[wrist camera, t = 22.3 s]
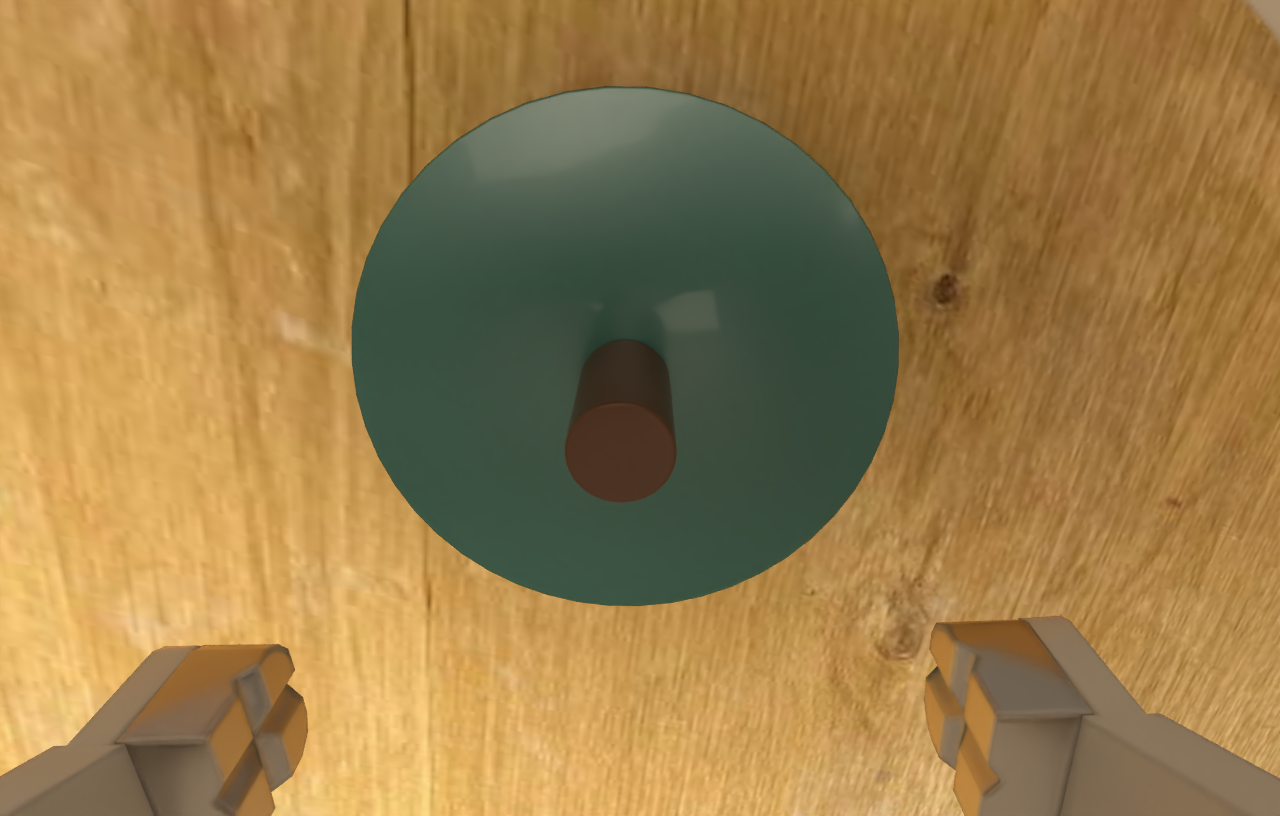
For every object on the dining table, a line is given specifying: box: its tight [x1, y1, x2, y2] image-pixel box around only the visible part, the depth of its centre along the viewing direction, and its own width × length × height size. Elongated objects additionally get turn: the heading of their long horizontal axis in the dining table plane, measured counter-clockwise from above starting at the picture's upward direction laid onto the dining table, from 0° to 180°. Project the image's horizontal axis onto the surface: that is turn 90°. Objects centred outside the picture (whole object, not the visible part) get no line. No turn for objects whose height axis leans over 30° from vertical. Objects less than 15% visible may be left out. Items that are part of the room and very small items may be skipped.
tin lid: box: [352, 86, 899, 606], centre depth 18 cm, size 15×15×6 cm
